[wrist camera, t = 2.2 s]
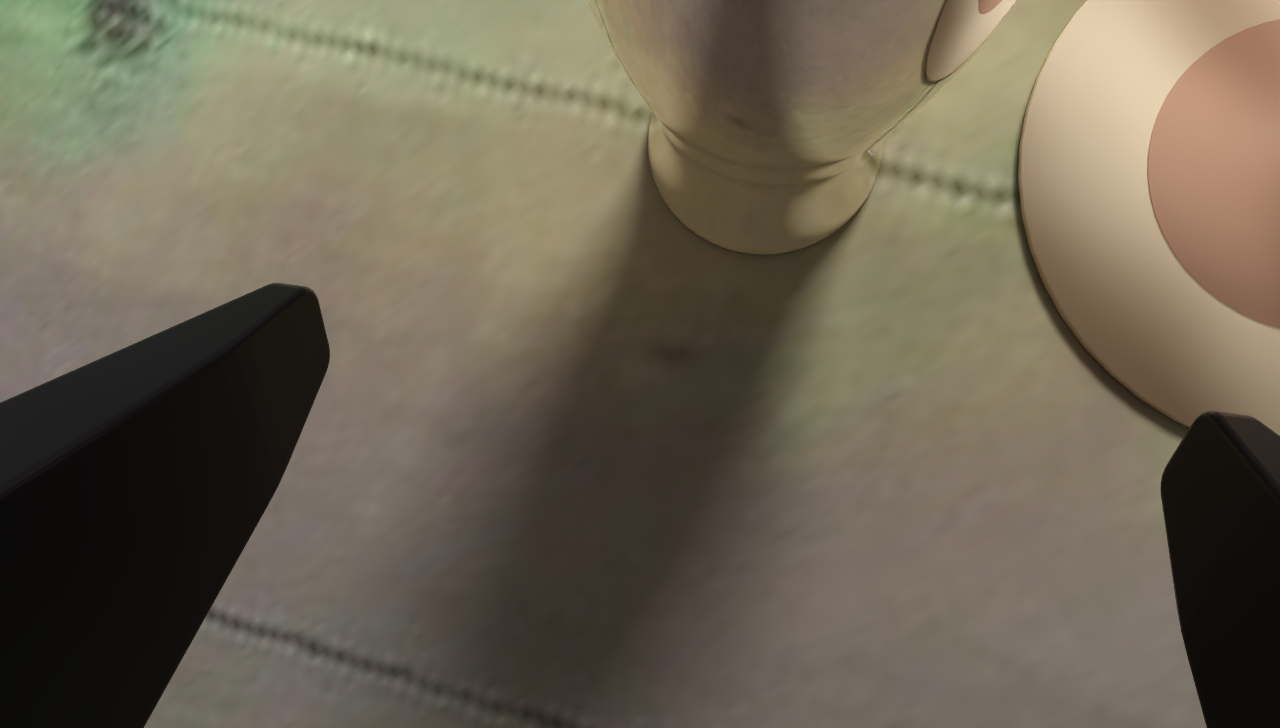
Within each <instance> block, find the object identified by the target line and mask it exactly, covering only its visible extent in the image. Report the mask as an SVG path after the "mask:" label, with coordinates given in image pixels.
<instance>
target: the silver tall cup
mask: <svg viewBox="0 0 1280 728" xmlns="http://www.w3.org/2000/svg"><path fill="white" fill-rule="evenodd" d="M1016 1H1017V0H588V3H589V5H590V8H591V10H592V12H593V15H594V17H595V19H596V21H597V23H598V25H599V26H600V28H601V30H602V32H603V34H604V36H605V37H606V39H607V41H608V43H609V45H610V47H611V48H612V50H613V52H614V54H615V56H616V58H617V59H618V61H619V63H620V65H621V66H622V68H623V70H624V71H625V73H626V74H627V76H628V77H629V79H630V80H631V81H632V83H633V84H634V86H635V87H636V89H637V90H638V92H639V93H640V94H641V96H642V97H643V99H644V100H645V102H646V103H647V104H648V106H649V107H650V108H651V110H652V114H651V119H650V124H649V133H648V154H649V162H650V167H651V171H652V175H653V178H654V181H655V183H656V186H657V188H658V190H659V192H660V194H661V196H662V198H663V199H664V201H665V203H666V204H667V205H668V207H669V208H670V210H671V211H672V212H673V213H674V214H675V216H676V217H677V218H678V219H679V220H680V221H681V222H682V223H683V224H684V225H686V226H687V227H688V228H689V229H690V230H692V231H693V232H694V233H696V234H697V235H699V236H700V237H702V238H704V239H706V240H707V241H709V242H711V243H713V244H716V245H718V246H721V247H723V248H726V249H729V250H733V251H737V252H742V253H748V254H778V253H785V252H790V251H794V250H798V249H801V248H804V247H807V246H810V245H812V244H814V243H816V242H818V241H820V240H822V239H824V238H826V237H828V236H829V235H831V234H832V233H834V232H835V231H837V230H838V229H839V228H840V227H842V226H843V225H844V224H845V223H846V222H847V221H848V220H849V219H850V218H851V217H852V216H853V215H854V214H855V213H856V212H857V211H858V210H859V208H860V207H861V206H862V204H863V203H864V201H865V200H866V198H867V197H868V195H869V193H870V191H871V189H872V187H873V185H874V183H875V180H876V178H877V175H878V172H879V169H880V165H881V161H882V156H883V150H884V140H885V137H886V136H888V135H889V134H890V133H892V132H893V131H894V130H895V129H897V128H898V127H899V126H900V125H902V124H903V123H904V122H905V121H906V120H908V119H909V118H910V117H911V116H913V115H914V114H915V113H916V112H918V111H919V110H920V109H921V108H922V107H924V106H925V105H926V104H927V103H928V102H929V101H930V100H931V99H933V98H934V97H935V96H936V95H937V94H938V93H939V92H940V91H941V90H942V89H943V88H944V87H945V86H946V85H947V84H948V83H949V82H950V81H951V80H952V79H953V78H954V77H955V76H956V75H957V74H958V73H959V72H960V71H961V70H962V69H963V68H964V67H965V66H966V65H967V64H968V63H969V62H970V61H971V60H972V58H973V57H974V56H975V55H976V54H977V53H978V52H979V51H980V49H981V48H982V47H983V46H984V44H985V43H986V42H987V41H988V39H989V38H990V36H991V35H992V34H993V32H994V31H995V30H996V28H997V27H998V25H999V24H1000V23H1001V21H1002V20H1003V19H1004V17H1005V16H1006V14H1007V13H1008V12H1009V10H1010V9H1011V8H1012V6H1013V5H1014V4H1015V2H1016Z"/></svg>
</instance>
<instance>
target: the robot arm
mask: <svg viewBox="0 0 1280 728" xmlns="http://www.w3.org/2000/svg"><path fill="white" fill-rule="evenodd" d="M329 358H330V349H329V343H328V339H327V335H326V331H325V327H324V322H323V318H322V314H321V310H320V306H319V301H318V299H317V296H316V294H315V293H314V291H313V290H311V289H310V288H308V287H305V286H298V285H291V284H284V283H272V284H269V285H267V286H264V287H262V288H260V289H257V290H255V291H253V292H251V293H248V294H246V295H244V296H242V297H239V298H237V299H235V300H232V301H230V302H228V303H226V304H223V305H221V306H219V307H217V308H214V309H212V310H210V311H208V312H205V313H203V314H201V315H198V316H196V317H194V318H192V319H189V320H187V321H185V322H183V323H180V324H178V325H176V326H173V327H171V328H169V329H167V330H164V331H162V332H160V333H158V334H155V335H153V336H151V337H148V338H146V339H144V340H142V341H139V342H137V343H135V344H133V345H130V346H128V347H126V348H124V349H121V350H119V351H117V352H114V353H112V354H110V355H108V356H105V357H103V358H101V359H99V360H96V361H94V362H92V363H89V364H87V365H85V366H83V367H80V368H78V369H76V370H74V371H71V372H69V373H67V374H65V375H62V376H60V377H58V378H55V379H53V380H51V381H49V382H46V383H44V384H42V385H40V386H37V387H35V388H33V389H30V390H28V391H26V392H24V393H21V394H19V395H17V396H15V397H12V398H10V399H8V400H5V401H3V402H1V403H0V728H144V726H145V724H146V723H147V721H148V719H149V717H150V715H151V714H152V712H153V710H154V708H155V706H156V705H157V703H158V701H159V699H160V697H161V696H162V694H163V692H164V690H165V688H166V687H167V685H168V683H169V681H170V680H171V678H172V676H173V674H174V672H175V671H176V669H177V667H178V665H179V663H180V662H181V660H182V658H183V656H184V654H185V653H186V651H187V649H188V647H189V646H190V644H191V642H192V640H193V638H194V637H195V635H196V633H197V631H198V629H199V628H200V626H201V624H202V622H203V620H204V619H205V617H206V615H207V613H208V612H209V610H210V608H211V606H212V604H213V603H214V601H215V599H216V597H217V595H218V594H219V592H220V590H221V588H222V586H223V585H224V583H225V581H226V579H227V577H228V576H229V574H230V572H231V570H232V569H233V567H234V565H235V563H236V561H237V560H238V558H239V556H240V554H241V552H242V551H243V549H244V547H245V545H246V543H247V542H248V540H249V538H250V536H251V535H252V533H253V531H254V529H255V527H256V526H257V524H258V522H259V520H260V518H261V517H262V515H263V513H264V511H265V509H266V508H267V506H268V504H269V502H270V500H271V498H272V497H273V495H274V493H275V491H276V489H277V487H278V485H279V483H280V481H281V479H282V476H283V474H284V472H285V470H286V468H287V465H288V463H289V461H290V458H291V456H292V453H293V451H294V449H295V446H296V444H297V441H298V439H299V436H300V434H301V432H302V429H303V427H304V424H305V422H306V420H307V417H308V415H309V412H310V410H311V408H312V405H313V403H314V400H315V398H316V395H317V393H318V391H319V388H320V386H321V383H322V381H323V379H324V376H325V374H326V371H327V368H328V364H329ZM1161 498H1162V505H1163V512H1164V519H1165V526H1166V533H1167V540H1168V547H1169V554H1170V561H1171V568H1172V576H1173V583H1174V590H1175V597H1176V604H1177V610H1178V615H1179V621H1180V627H1181V632H1182V636H1183V640H1184V644H1185V648H1186V652H1187V656H1188V660H1189V664H1190V667H1191V671H1192V675H1193V678H1194V682H1195V686H1196V689H1197V693H1198V697H1199V700H1200V704H1201V708H1202V712H1203V715H1204V719H1205V723H1206V726H1207V728H1280V436H1279V435H1278V434H1277V433H1275V432H1274V431H1273V430H1271V429H1270V428H1268V427H1267V426H1266V425H1264V424H1263V423H1262V422H1260V421H1259V420H1257V419H1256V418H1254V417H1251V416H1248V415H1242V414H1235V413H1227V412H1220V411H1207V412H1204V413H1202V414H1201V415H1199V416H1198V417H1197V418H1196V419H1195V421H1194V422H1193V423H1192V425H1191V427H1190V428H1189V430H1188V431H1187V433H1186V435H1185V436H1184V438H1183V439H1182V441H1181V443H1180V444H1179V446H1178V448H1177V449H1176V451H1175V452H1174V454H1173V456H1172V457H1171V459H1170V460H1169V462H1168V464H1167V465H1166V467H1165V469H1164V472H1163V475H1162V479H1161Z"/></svg>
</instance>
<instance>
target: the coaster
mask: <svg viewBox="0 0 1280 728" xmlns="http://www.w3.org/2000/svg"><path fill="white" fill-rule="evenodd" d="M1018 185H1019V196H1020V206H1021V215H1022V219H1023V224H1024V228H1025V232H1026V236H1027V240H1028V245H1029V249H1030V252H1031V254H1032V257H1033V259H1034V262H1035V264H1036V267H1037V270H1038V272H1039V275H1040V277H1041V280H1042V283H1043V284H1044V286H1045V288H1046V290H1047V292H1048V294H1049V295H1050V297H1051V299H1052V301H1053V303H1054V305H1055V306H1056V308H1057V310H1058V312H1059V314H1060V315H1061V317H1062V318H1063V320H1064V321H1065V322H1066V324H1067V325H1068V326H1069V328H1070V329H1071V331H1072V332H1073V333H1074V335H1075V336H1076V337H1077V339H1078V340H1079V341H1080V343H1081V344H1082V346H1083V347H1084V348H1085V349H1086V350H1087V351H1088V352H1089V353H1090V354H1091V355H1092V356H1093V357H1094V358H1095V359H1096V360H1097V361H1098V363H1099V364H1100V365H1101V366H1102V367H1103V368H1104V369H1105V370H1106V371H1107V372H1108V373H1109V374H1110V375H1111V376H1112V377H1114V378H1115V379H1116V380H1117V381H1119V382H1120V383H1121V384H1122V385H1123V386H1125V387H1126V388H1127V389H1128V390H1129V391H1131V392H1132V393H1133V394H1134V395H1136V396H1137V397H1138V398H1139V399H1141V400H1142V401H1144V402H1145V403H1147V404H1149V405H1150V406H1152V407H1153V408H1155V409H1156V410H1158V411H1160V412H1161V413H1163V414H1164V415H1166V416H1168V417H1169V418H1171V419H1172V420H1174V421H1176V422H1178V423H1180V424H1182V425H1185V426H1187V427H1189V428H1190V427H1191V425H1192V423H1193V422H1194V421H1195V419H1196V418H1197V417H1198V416H1199V415H1201V414H1202V413H1204V412H1207V411H1220V412H1227V413H1235V414H1242V415H1248V416H1251V417H1254V418H1256V419H1257V420H1259V421H1260V422H1262V423H1263V424H1264V425H1266V426H1267V427H1268V428H1270V429H1271V430H1273V431H1274V432H1275V433H1277V434H1278V435H1279V436H1280V0H1087V1H1086V2H1085V4H1084V5H1083V6H1082V7H1081V8H1080V9H1079V10H1078V11H1077V12H1076V14H1075V15H1074V16H1073V17H1072V19H1071V20H1070V22H1069V23H1068V24H1067V26H1066V27H1065V29H1064V30H1063V32H1062V33H1061V35H1060V36H1059V38H1058V39H1057V41H1056V42H1055V44H1054V45H1053V46H1052V48H1051V50H1050V52H1049V54H1048V56H1047V58H1046V60H1045V62H1044V64H1043V66H1042V68H1041V70H1040V72H1039V74H1038V76H1037V78H1036V81H1035V84H1034V87H1033V90H1032V93H1031V96H1030V99H1029V102H1028V105H1027V108H1026V112H1025V117H1024V123H1023V128H1022V133H1021V139H1020V144H1019V166H1018Z"/></svg>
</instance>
